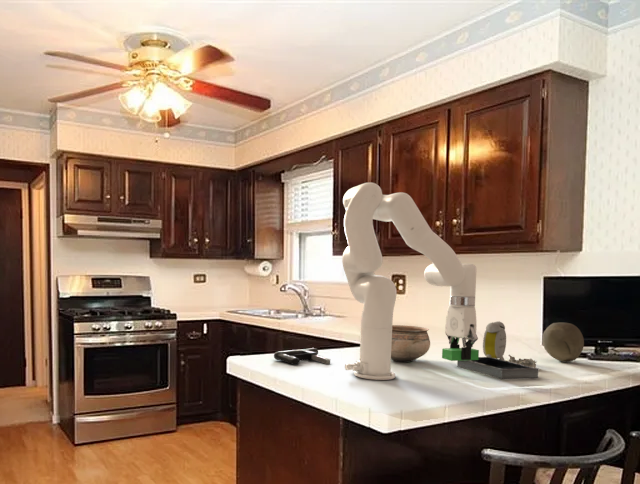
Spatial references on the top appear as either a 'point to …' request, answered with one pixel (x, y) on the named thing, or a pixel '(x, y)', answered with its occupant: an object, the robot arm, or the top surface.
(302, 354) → the door handle
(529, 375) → the dark grey tray
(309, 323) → the top surface
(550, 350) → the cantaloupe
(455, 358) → the block
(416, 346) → the cooking pot
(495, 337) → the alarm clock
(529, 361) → the grey lumpy piece
